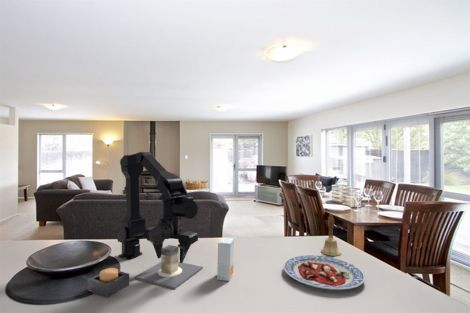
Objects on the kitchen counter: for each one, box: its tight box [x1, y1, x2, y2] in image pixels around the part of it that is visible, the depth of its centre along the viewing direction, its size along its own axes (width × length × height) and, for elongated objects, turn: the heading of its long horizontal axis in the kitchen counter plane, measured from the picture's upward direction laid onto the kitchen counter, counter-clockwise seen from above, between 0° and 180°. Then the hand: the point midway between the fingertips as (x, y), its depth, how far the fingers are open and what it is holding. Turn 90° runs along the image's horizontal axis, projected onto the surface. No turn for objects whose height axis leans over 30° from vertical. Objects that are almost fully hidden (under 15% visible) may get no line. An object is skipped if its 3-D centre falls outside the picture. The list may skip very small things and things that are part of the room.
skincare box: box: [216, 237, 235, 282], centre depth 87 cm, size 6×4×12 cm
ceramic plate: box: [283, 254, 366, 291], centre depth 89 cm, size 26×26×3 cm
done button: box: [99, 267, 119, 283], centre depth 79 cm, size 5×5×2 cm
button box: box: [86, 270, 130, 299], centre depth 79 cm, size 8×8×4 cm
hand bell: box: [320, 213, 342, 257], centre depth 111 cm, size 8×8×16 cm
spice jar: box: [160, 244, 180, 275], centre depth 89 cm, size 4×4×8 cm
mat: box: [133, 261, 204, 290], centre depth 89 cm, size 16×16×1 cm
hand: (170, 260), depth 89 cm, fingers open, 9 cm apart
